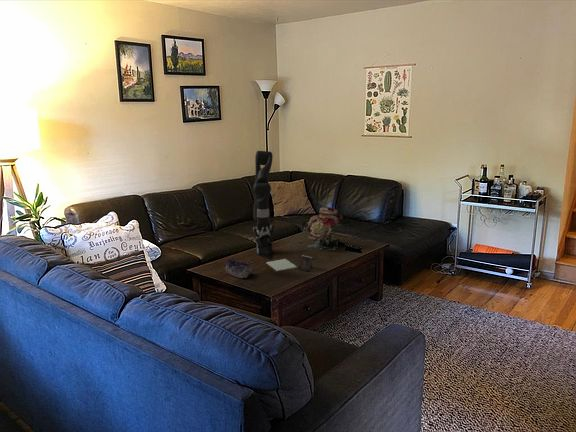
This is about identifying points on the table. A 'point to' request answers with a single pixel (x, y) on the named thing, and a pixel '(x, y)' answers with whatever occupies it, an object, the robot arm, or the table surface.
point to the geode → (238, 268)
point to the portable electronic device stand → (308, 262)
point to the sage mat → (281, 265)
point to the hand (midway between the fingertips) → (264, 242)
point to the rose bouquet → (324, 229)
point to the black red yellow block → (265, 247)
